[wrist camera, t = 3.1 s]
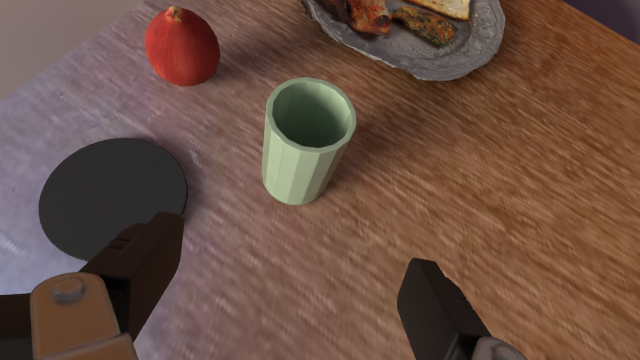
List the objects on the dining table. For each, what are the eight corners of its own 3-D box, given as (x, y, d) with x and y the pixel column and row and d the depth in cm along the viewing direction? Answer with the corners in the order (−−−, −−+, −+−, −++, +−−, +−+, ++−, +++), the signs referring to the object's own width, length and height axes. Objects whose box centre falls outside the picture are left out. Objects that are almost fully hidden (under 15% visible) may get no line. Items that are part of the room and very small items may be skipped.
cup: (292, 218, 28) (310, 170, 20) (247, 169, 29) (247, 104, 21) (340, 178, 30) (373, 121, 22) (297, 134, 31) (314, 64, 23)
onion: (155, 57, 32) (128, -24, 25) (218, 55, 33) (210, -22, 26) (159, 108, 30) (130, 35, 23) (226, 102, 31) (219, 33, 24)
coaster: (89, 293, 23) (86, 292, 22) (14, 188, 25) (10, 185, 24) (213, 205, 27) (213, 203, 27) (141, 120, 29) (139, 117, 29)
